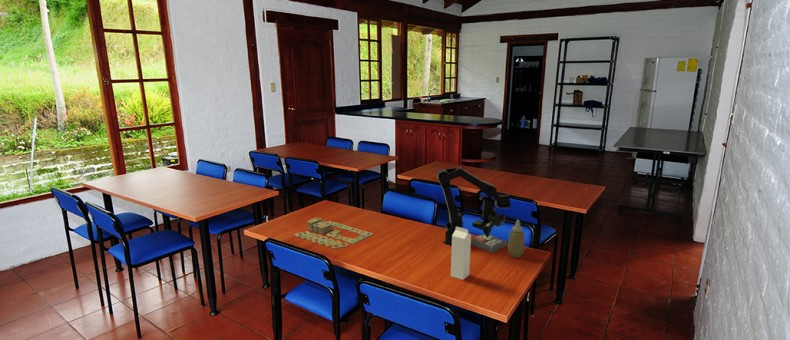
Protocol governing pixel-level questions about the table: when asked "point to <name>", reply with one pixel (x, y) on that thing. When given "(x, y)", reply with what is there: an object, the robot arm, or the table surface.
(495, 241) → the tile bluegrey
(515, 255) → the squeeze bottle
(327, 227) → the pile of dominoes
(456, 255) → the milk
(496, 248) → the bezel board
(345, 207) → the table surface
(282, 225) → the table surface
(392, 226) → the table surface
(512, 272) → the table surface
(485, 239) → the tile terracotta
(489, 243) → the tile cream
